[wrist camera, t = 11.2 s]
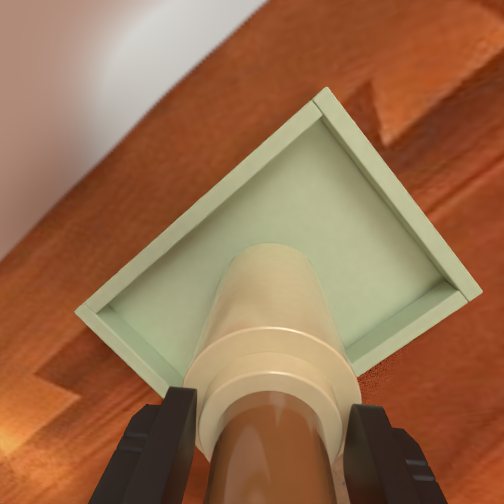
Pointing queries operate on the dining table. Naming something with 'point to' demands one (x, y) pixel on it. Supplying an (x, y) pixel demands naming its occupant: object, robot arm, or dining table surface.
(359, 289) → the tray
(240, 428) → the stoneware bottle
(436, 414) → the dining table surface
